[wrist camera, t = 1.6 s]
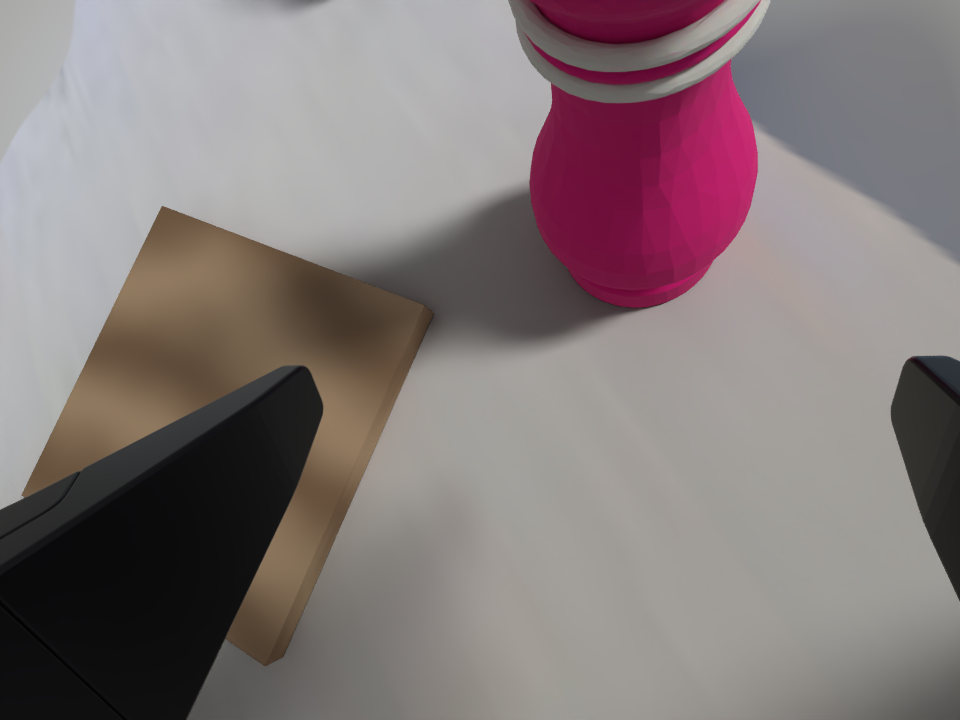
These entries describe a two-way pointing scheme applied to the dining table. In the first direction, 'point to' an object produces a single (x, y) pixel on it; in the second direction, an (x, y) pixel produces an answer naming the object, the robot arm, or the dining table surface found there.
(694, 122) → the pepper mill
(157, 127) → the dining table surface
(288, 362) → the walnut board
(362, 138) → the dining table surface
